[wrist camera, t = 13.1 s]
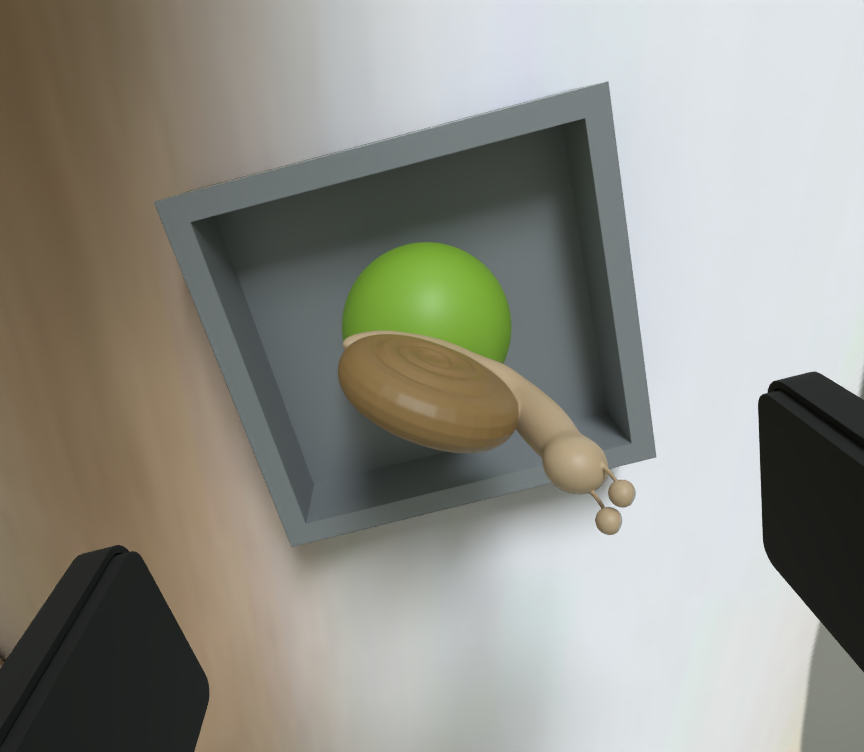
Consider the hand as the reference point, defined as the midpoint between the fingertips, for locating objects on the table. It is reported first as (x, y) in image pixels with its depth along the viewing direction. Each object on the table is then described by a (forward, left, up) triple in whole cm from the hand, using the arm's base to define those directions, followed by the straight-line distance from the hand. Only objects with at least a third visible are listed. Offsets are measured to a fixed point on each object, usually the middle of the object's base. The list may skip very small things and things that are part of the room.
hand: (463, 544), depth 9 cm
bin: (+1, 0, -15) cm, 15 cm away
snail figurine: (0, +1, -15) cm, 15 cm away
